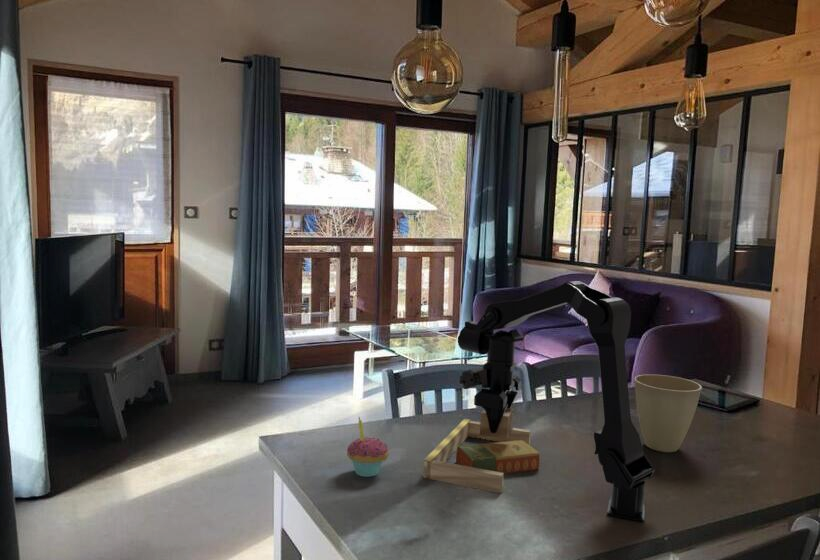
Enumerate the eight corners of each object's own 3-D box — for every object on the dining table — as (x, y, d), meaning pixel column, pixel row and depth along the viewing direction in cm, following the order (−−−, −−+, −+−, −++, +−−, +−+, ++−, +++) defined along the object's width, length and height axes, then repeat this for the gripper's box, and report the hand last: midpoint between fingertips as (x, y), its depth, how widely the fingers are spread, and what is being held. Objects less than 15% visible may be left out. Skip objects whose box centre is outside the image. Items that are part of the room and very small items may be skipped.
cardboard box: (507, 439, 141) (508, 416, 140) (479, 435, 143) (480, 412, 142) (512, 430, 147) (513, 408, 146) (486, 426, 149) (487, 405, 148)
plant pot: (698, 462, 148) (704, 394, 147) (629, 452, 153) (634, 385, 151) (693, 441, 162) (698, 378, 161) (629, 432, 167) (634, 371, 165)
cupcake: (350, 482, 131) (352, 424, 130) (343, 465, 139) (344, 410, 138) (392, 478, 134) (394, 421, 132) (382, 462, 142) (384, 408, 140)
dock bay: (500, 493, 129) (502, 474, 128) (423, 477, 135) (423, 459, 134) (529, 444, 156) (530, 429, 155) (463, 433, 162) (464, 418, 161)
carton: (539, 471, 141) (540, 452, 141) (470, 478, 136) (471, 458, 136) (521, 456, 149) (522, 438, 148) (455, 463, 144) (456, 444, 143)
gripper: (476, 346, 154) (473, 411, 156) (452, 363, 137) (448, 435, 139) (523, 352, 150) (519, 418, 152) (504, 369, 133) (500, 444, 135)
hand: (496, 428), depth 145 cm, fingers closed on cardboard box, 6 cm apart
